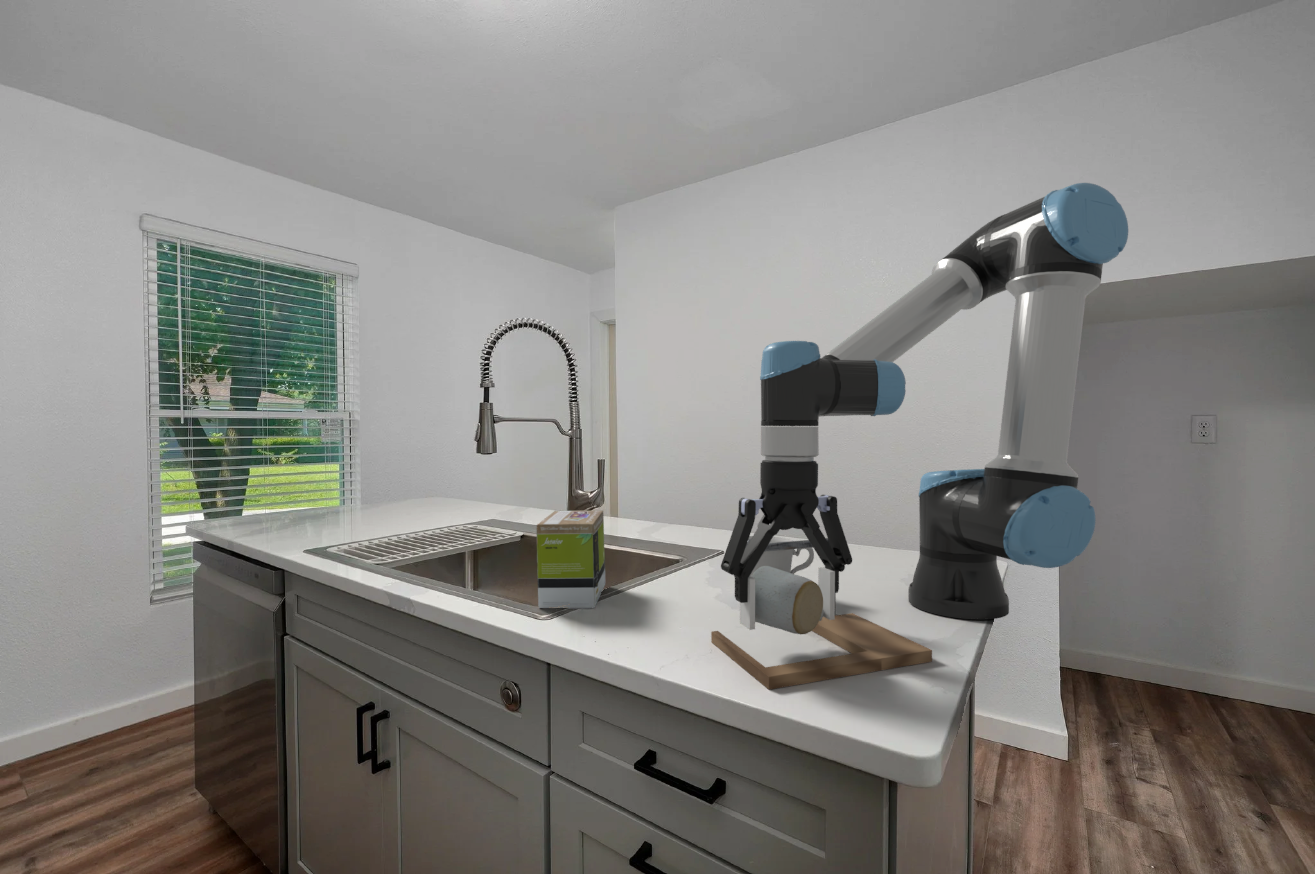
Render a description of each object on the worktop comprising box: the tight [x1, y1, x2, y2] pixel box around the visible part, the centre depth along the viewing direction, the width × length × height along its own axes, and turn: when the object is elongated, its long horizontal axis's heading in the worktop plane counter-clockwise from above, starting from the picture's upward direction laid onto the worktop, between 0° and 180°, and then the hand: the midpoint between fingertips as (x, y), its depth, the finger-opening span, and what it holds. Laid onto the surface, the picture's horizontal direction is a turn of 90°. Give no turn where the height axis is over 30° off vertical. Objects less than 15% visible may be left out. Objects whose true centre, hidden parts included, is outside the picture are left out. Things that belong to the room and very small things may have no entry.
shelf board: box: [710, 612, 933, 691], centre depth 79 cm, size 24×16×2 cm, turn 109°
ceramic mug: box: [751, 566, 824, 635], centre depth 79 cm, size 11×8×8 cm
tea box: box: [536, 510, 606, 610], centre depth 106 cm, size 15×10×15 cm, turn 178°
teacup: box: [749, 535, 815, 576], centre depth 104 cm, size 12×15×10 cm
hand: (787, 621), depth 78 cm, fingers closed on ceramic mug, 11 cm apart
